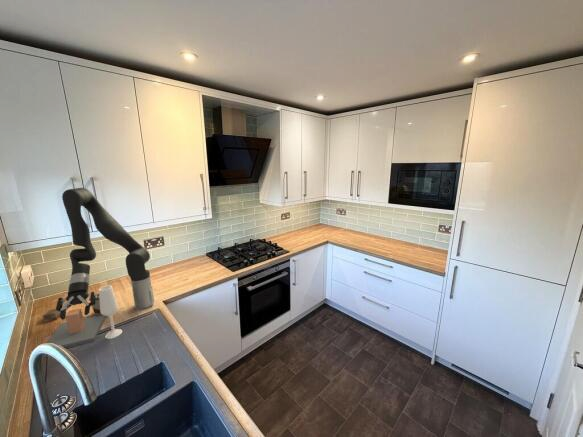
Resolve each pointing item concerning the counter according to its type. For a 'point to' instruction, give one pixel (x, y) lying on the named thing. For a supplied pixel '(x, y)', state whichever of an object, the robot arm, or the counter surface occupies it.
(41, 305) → the counter surface
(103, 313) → the champagne flute
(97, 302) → the food container
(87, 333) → the slate board
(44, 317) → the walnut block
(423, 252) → the counter surface
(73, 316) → the terracotta block
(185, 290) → the counter surface
